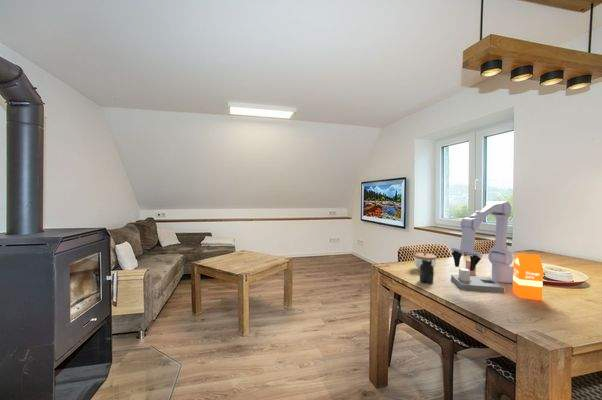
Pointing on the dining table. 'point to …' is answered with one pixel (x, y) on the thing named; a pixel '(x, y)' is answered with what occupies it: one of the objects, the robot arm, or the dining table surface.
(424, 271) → the supplement bottle
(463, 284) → the socket board
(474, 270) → the peg
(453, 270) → the dining table surface
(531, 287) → the orange juice
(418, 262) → the lidded bowl
